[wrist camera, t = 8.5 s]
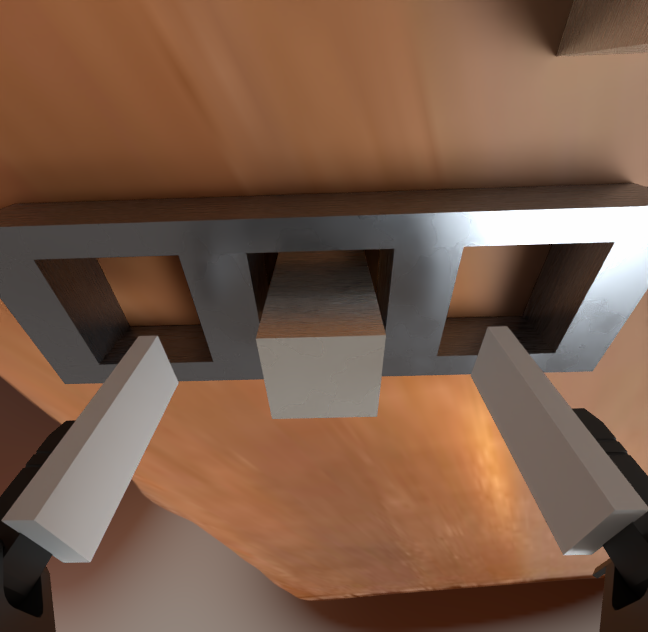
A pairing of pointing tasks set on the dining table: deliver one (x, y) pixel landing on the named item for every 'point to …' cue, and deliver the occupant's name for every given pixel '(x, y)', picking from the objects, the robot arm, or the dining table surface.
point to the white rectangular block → (605, 28)
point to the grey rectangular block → (321, 336)
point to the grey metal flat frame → (326, 235)
